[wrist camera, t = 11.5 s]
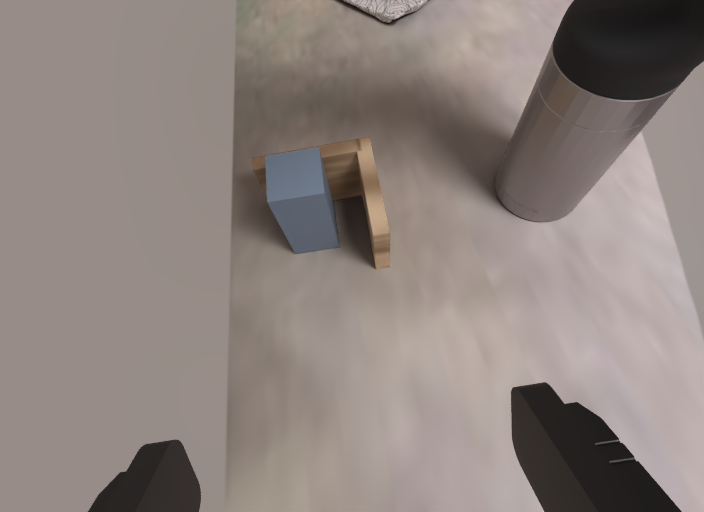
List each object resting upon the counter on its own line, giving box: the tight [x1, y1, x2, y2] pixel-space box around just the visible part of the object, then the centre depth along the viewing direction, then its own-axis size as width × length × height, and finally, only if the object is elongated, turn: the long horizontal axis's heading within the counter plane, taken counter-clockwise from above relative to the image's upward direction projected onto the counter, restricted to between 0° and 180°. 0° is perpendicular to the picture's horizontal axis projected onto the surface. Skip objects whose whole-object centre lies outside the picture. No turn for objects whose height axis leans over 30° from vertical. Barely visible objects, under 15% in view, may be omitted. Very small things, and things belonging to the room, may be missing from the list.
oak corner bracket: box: [252, 137, 390, 269], centre depth 40 cm, size 11×12×8 cm
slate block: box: [265, 147, 339, 254], centre depth 39 cm, size 5×5×11 cm
